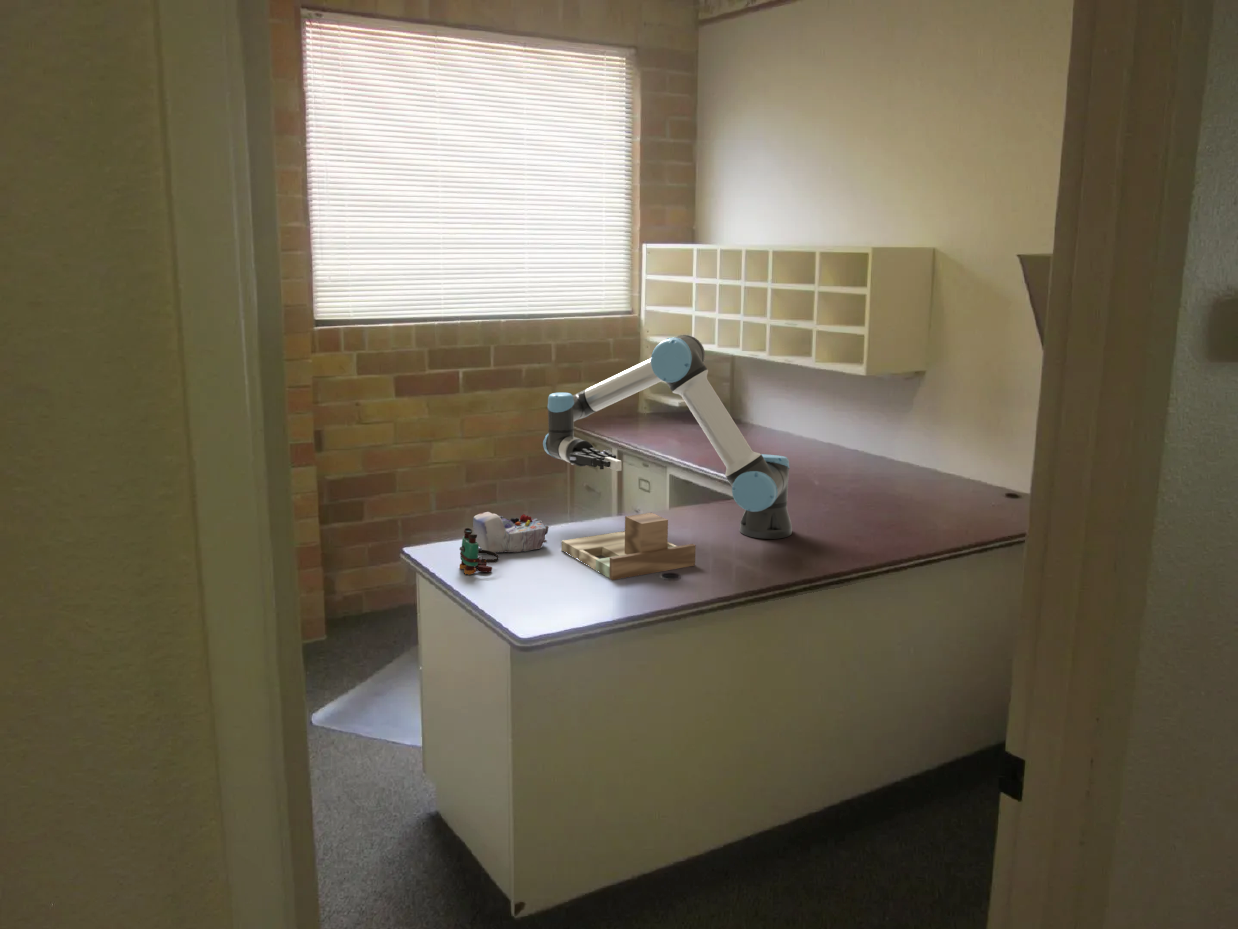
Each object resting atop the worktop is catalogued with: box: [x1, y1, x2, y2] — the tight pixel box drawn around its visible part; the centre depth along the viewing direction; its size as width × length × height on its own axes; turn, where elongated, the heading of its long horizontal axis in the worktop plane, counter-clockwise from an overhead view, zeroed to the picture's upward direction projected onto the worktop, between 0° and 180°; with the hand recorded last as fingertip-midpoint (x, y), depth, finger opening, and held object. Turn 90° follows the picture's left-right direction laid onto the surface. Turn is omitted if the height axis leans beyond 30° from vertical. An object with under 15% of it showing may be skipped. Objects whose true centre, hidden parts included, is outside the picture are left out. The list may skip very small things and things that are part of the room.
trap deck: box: [561, 530, 696, 581], centre depth 267 cm, size 28×25×6 cm
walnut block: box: [624, 512, 669, 555], centre depth 259 cm, size 8×8×10 cm
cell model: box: [472, 511, 550, 554], centre depth 274 cm, size 13×11×20 cm
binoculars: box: [459, 527, 500, 576], centre depth 255 cm, size 9×11×10 cm
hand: (619, 466), depth 268 cm, fingers closed
